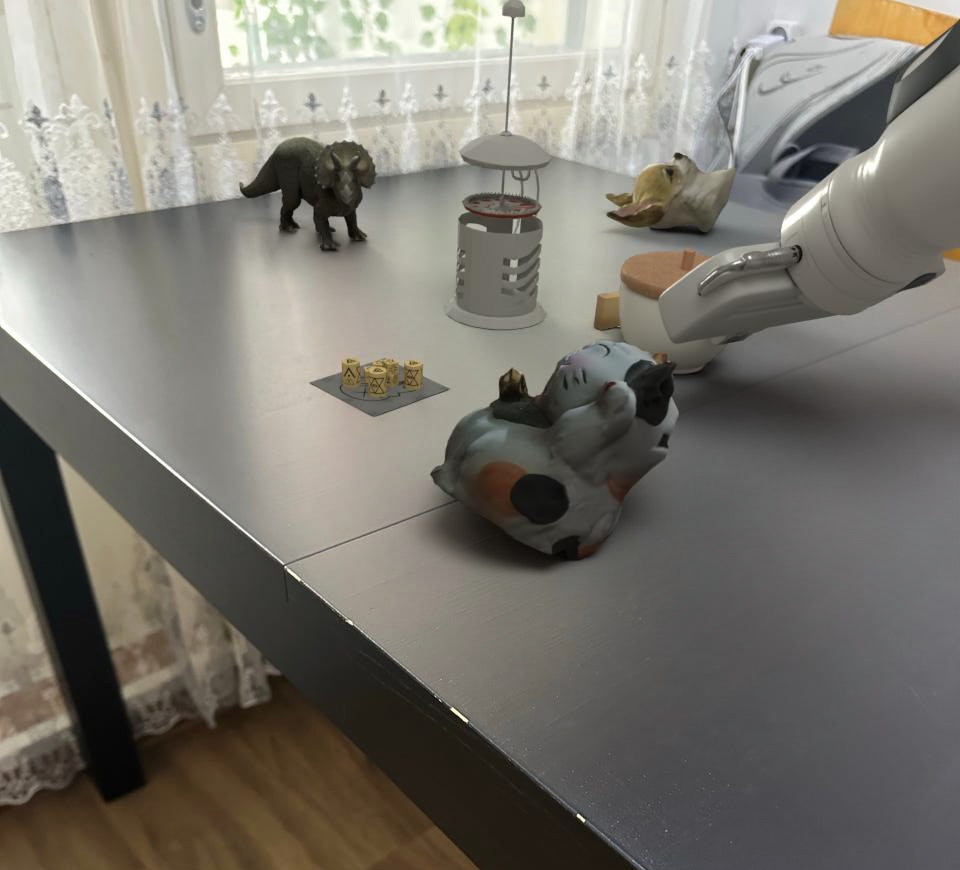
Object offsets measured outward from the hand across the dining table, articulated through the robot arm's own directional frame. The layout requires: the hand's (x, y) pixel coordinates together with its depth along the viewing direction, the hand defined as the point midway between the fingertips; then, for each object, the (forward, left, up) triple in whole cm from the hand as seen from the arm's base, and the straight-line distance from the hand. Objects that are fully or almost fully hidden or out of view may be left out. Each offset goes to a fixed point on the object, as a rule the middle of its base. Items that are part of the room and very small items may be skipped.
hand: (723, 335), depth 77 cm
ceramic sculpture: (-25, -40, -5) cm, 47 cm away
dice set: (+26, -11, -5) cm, 28 cm away
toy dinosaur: (+16, -50, -5) cm, 52 cm away
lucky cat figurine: (+24, +11, -5) cm, 27 cm away
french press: (+8, -23, -5) cm, 24 cm away
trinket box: (0, -6, -5) cm, 7 cm away
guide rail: (-6, -15, -4) cm, 16 cm away
